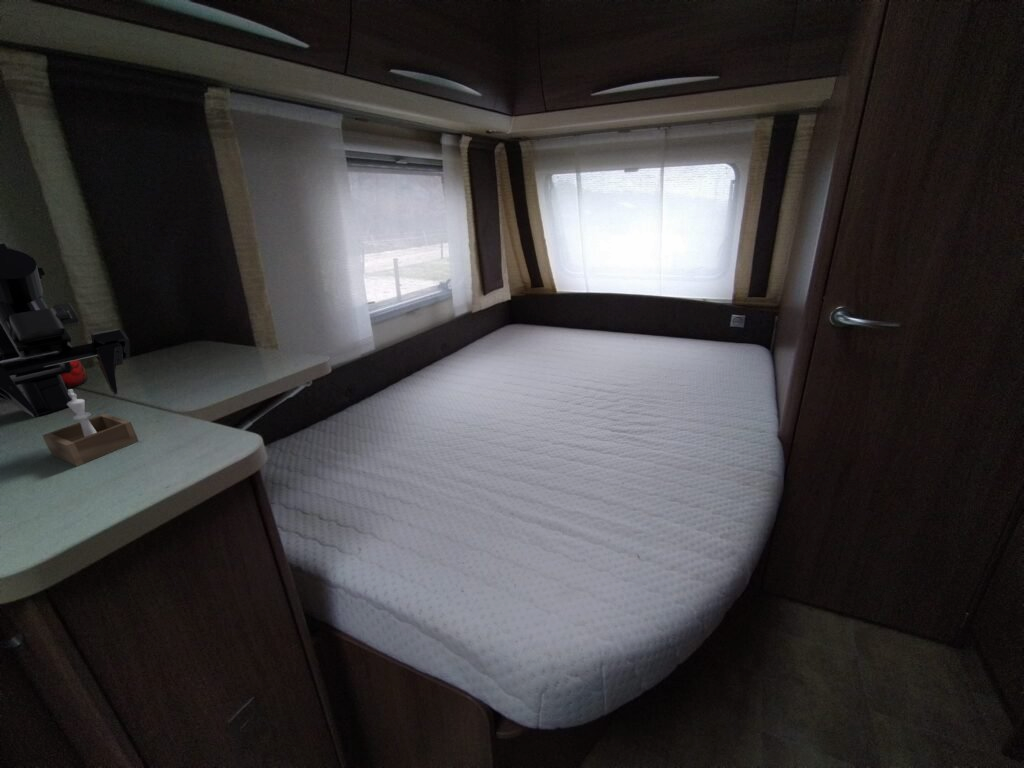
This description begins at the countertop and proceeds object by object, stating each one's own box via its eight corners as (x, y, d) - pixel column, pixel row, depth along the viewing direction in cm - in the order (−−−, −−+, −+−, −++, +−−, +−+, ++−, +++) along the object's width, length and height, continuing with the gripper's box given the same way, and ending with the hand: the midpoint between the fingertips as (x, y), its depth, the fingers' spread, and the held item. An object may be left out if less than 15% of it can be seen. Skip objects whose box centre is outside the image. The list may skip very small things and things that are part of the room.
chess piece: (83, 458, 68) (55, 398, 64) (70, 451, 70) (41, 393, 66) (122, 443, 72) (97, 386, 68) (108, 437, 74) (83, 381, 70)
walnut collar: (52, 455, 69) (42, 435, 68) (112, 432, 76) (104, 413, 74) (77, 466, 66) (67, 445, 64) (138, 441, 72) (130, 421, 71)
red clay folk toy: (46, 386, 98) (14, 319, 92) (88, 377, 103) (61, 312, 97) (47, 395, 93) (14, 325, 87) (92, 385, 98) (63, 317, 92)
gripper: (-84, 301, 57) (-29, 399, 55) (102, 278, 70) (151, 356, 68) (-58, 351, 64) (-8, 439, 62) (106, 321, 78) (151, 392, 76)
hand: (77, 403), depth 67 cm, fingers open, 9 cm apart
